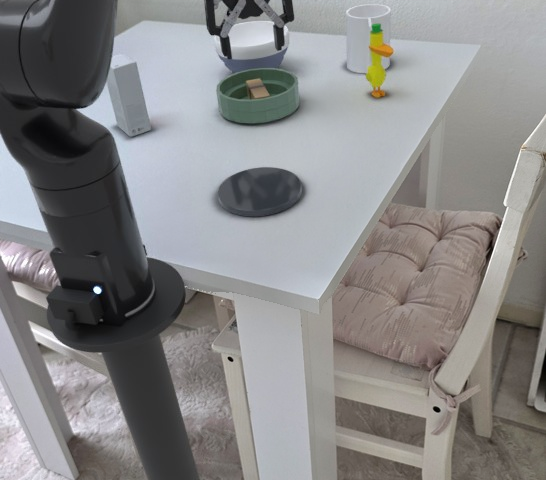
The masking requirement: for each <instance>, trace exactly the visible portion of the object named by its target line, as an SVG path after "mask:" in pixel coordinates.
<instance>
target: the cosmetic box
mask: <svg viewBox="0 0 546 480" xmlns="http://www.w3.org/2000/svg"><path fill="white" fill-rule="evenodd" d="M141 81H142V80H141V77H140V72H139V67H138V63H137V61H136V60H134V59H132V58H131V57H129V56H127V55H126V54H124V53H119V54H116V55H112V61H111V66H110V70H109V74H108V78H107V81H106V86H107V90H108V94H109V98H110V102H111V105H112V109H113V113H114V117H115V121H116V125H117V127H118V128H119V129H120V130H121V131H123V133H125V134H126V135H127V136H128V137H130V138H132V137H135V136H138V135H141V134H143V133H146V132H149V131H152V126H151V122H150V116H149V112H148V108H147V104H146V99H145V94H144V90H143V85H142V82H141Z"/></svg>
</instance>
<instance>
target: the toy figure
mask: <svg viewBox="0 0 546 480" xmlns="http://www.w3.org/2000/svg"><path fill="white" fill-rule="evenodd" d="M371 26H372V31H370V46H369V48H370V50H371V59H372V65H371V67H369V66H368V73H365V79H366V81H367V82H368V83H369V84H370V85H371V87H372V90H373V91H372V92H371V95H372V97H374V98H377V99H378V98H381V97H385V96H386V92H385V90H383V89H381V86H382V85H383V83H384V82H385V80H386V77H387V73H386V69H385V70H384V68H383V67H382V65H381V59H382V56H384V57H390V58H391V56H392V55H394V48H393V47H392V46H391V45H390V46H388V45H386V44H384V43H383V33H382V31H383V30H382V29H381V24H373V25H371Z"/></svg>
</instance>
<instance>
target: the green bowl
mask: <svg viewBox="0 0 546 480" xmlns="http://www.w3.org/2000/svg"><path fill="white" fill-rule="evenodd" d="M259 78H260V80H261V81H262V83H263V85H265V88H266V90H267V92H268V93H269V95H270V97H267V98H263V99H253V100H249V99H248V95H247V87H246V81H248V80H253V79H259ZM299 91H300V90H299V79H298V76H297V75H296V74H295V73H294V72H291V71H289V70H286V69H282V68H278V69H277V68H257V69H249V70H245V71H240V72H237V73H235V74H233V73H232V74H229V75H227V76H226V77H224V78H222V79H221V80H220V81H219V82H218V83H217V84H216V89H215V92H216V99H217V105H218V111H219V113H220V115H221V116H222V117H223V118H224V119H227V120H228V121H230V122H235V123H239V124H263V123H269V122H273V121H276V120H280V119H282V118H284V117H287V116H290V115H291V114H292V113H294V112H295V111H296V110H297V109H298V108H299V106H300V104H301V103H300V92H299Z"/></svg>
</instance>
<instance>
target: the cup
mask: <svg viewBox="0 0 546 480" xmlns="http://www.w3.org/2000/svg"><path fill="white" fill-rule="evenodd" d="M391 14H392V9H391V7H390V6H387V5H385V4H378V3H367V4H359V5H355V6H353V7H350V8H348V9H347V10H346V11H345V35H346V36H345V37H346V68H347V70H349V71H350V72H352V73H357V74H367V73H368V66H369V67H371V65H372V59H371V50H370V48H369V46H370V31H372V26H371V25H373V24H381V29H382V30H383V31H382V33H383V43H384V44H386V45H388V46H390V47H391V25H392V23H391V19H392V17H391V16H392V15H391ZM390 64H391V56H390V57H384V56H382V59H381V65H382V67H383V68H384V70H385V71H386V70H387V69H388V68H389V67H390Z"/></svg>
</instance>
